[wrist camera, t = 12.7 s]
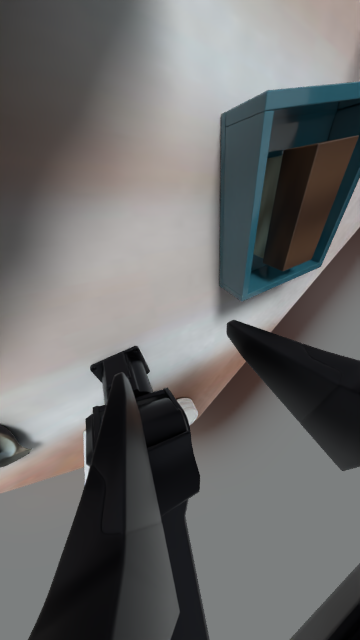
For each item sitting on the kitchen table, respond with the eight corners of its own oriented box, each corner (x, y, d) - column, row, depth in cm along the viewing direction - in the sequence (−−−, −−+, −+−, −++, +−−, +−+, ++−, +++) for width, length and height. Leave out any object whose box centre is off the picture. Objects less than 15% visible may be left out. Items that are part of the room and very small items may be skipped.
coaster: (190, 390, 38) (197, 404, 36) (193, 408, 45) (199, 421, 42) (148, 412, 36) (153, 429, 33) (158, 427, 42) (163, 442, 40)
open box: (291, 257, 27) (321, 266, 23) (219, 286, 24) (241, 302, 20) (339, 98, 16) (404, 76, 13) (221, 114, 13) (267, 90, 10)
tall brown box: (276, 248, 23) (311, 259, 20) (250, 258, 22) (282, 271, 19) (300, 146, 17) (359, 134, 13) (264, 153, 16) (319, 143, 12)
